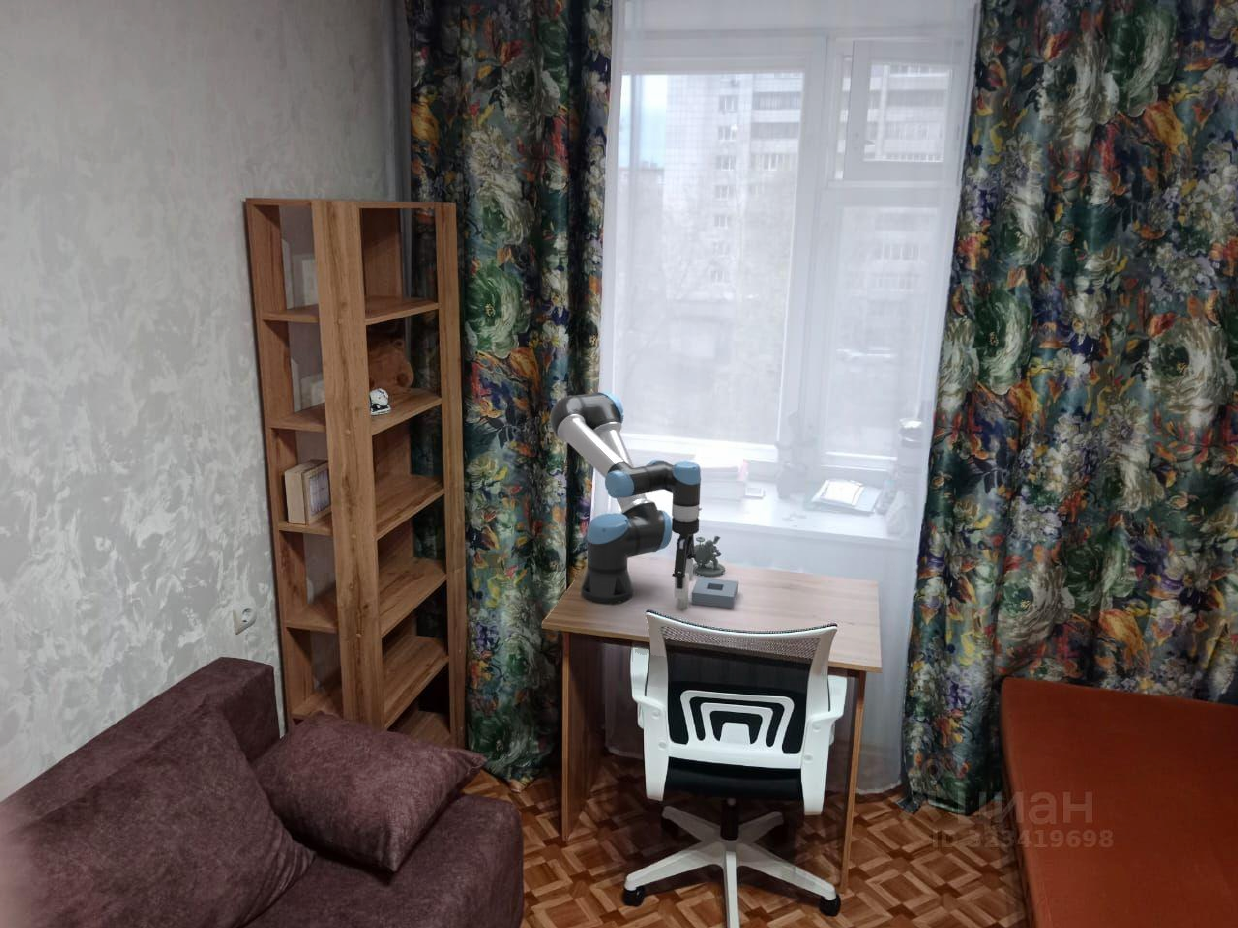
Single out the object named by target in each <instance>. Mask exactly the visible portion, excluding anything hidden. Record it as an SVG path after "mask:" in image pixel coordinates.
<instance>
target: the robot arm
mask: <svg viewBox="0 0 1238 928" xmlns="http://www.w3.org/2000/svg"><path fill="white" fill-rule="evenodd" d="M593 393H594V394H593ZM593 393H585V394H578V395H577V394H576V395H569V396H568V395H567V396H565V397H562V398H561V399H559V400H558V401H557V402H555V404H554V405H553V407H552V408H551V411H550V415H549V421H550V422H549V424H550V426H551V429H552V432H553V433H554V435H555V436H556V437H557V438H558V439H559V440H560V441H562V442H563V443H567V444H569V445H570V446H571V447H572V448H573V449H574V450H575V451H577V453H578V454H579V455H580V456H581V457H583V459H584V460H585V461H587V463H588V464H590V466H591V467H593V468H594V469H595V470H596V471H597V472H598V473H599V474H600V475H601V477H603V478H604V486H605V489H606V490H607V493H608V495H609V496H610V497H611V498H614V499H616V501H617V503H618V505H619V508H620V510H621V511H620V513H616V512H615V513H614V512H613V513H605V514H601V515H598V516H595V517H594V518H593V519H591V520H590V521H589V524H588V527H587V534H586V538H587V570H586V572H585V575H584V578H583V581H582V584H581V587H580V588H581V591H580V592H581V594H580V595H581V597H582V598H583V599H584V600H586V601H588V602H590V603H594V604H598V605H599V604H600V605H616V604H621V603H622V604H623V603H625V602H627V601H629V600H630V599H631V598H632V597H633V596H634V595H633V592H634V590H633V589H634V587H633V583H632V581H631V578H630V577H631V576H630V574H629V571H628V559H629V558H633V557H637V556H641V555H646V554H649V553H650V554H651V553H656V552H658V551H661V550H664V549H666V548H667V547H669V545H670V543H671V541H672V538H673V532H674V534H678V537H677V540H676V553H675V562H674V563H675V564H674V571H673V572H674V573H672V574H671V575H672V576H671V577H674V581H675V582H674V599H677V600H678V599H685V573H688V574H689V582H691V581H692V582H693V579H694V574H693V564H694V558H696V554H694V553H695V551H694V546H695V539H694V535H695V534H697V533H699V531H700V518H699V517H700V512H701V511H702V510H703V508H702V506H701V482H702V477H701V476H702V474H701V473H702V472H701V471H702V470H701V466H700V464H699V463H696V462H694V461H693V462H692V461H686V460H684V461H678V462H676V463H674V464H672V463H669V462H668V461H665V460H660V459H652V460H651V461H650V462H648V463H646V465H642V466H637V467H634V464H633V462H632V460H631V457H630V455H629V452H628V450H627V447H626V445H625V443H624V441H623V439H622V435H621V434H620V432H621V430H622V428H623V427H622V426H623V425H622V423H623V421H624V414H623V413H624V409H623V405H622V403H621V402H620V400H619V398H618V397H616V396H615V395H614V393H611V392H607V391H606V392H601V391H596V392H593ZM658 491H666V492H668V493H671V494H672V505H671V506H672V511H671V512H672V513H671V516H672V519H671V516H670V515H669V514H668V512H666V511H665V510H664V509H663V510H662V509H658V508H657V505H656V503H655V502H654V501H653V500H650V499H648V497H647V495H646V494H647V493H653V492H658Z"/></svg>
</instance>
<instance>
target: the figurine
mask: <svg viewBox="0 0 1238 928" xmlns="http://www.w3.org/2000/svg"><path fill="white" fill-rule="evenodd" d="M720 539H721V537H720V536H718V535H715V536H713V541H712V539H708V540H707V541H706V538H705V537H703V536H698V537H696V538H695V540H696V542H699V544H696V545H694V551H695V553H694V554H696V558H693V561H694V562H695V563H693V573H695V574H697V575H696V576H698V575H700V576H699V577H701V576H704V577H705V578H716V577H717V576H718V577H721V576H723V575H724V574H725V573H726V568H725V566H724V565H722V564H720V563H719V560H718V559H717V558H718V557H720V556H721V555H722V553H721V552H720V551H719V549H717V546H715V545H716V544H717V543H718V541H719V540H720ZM701 543H702V544H701ZM703 543H704V544H703ZM724 572H725V573H724ZM723 573H724V574H723ZM695 574H694V575H695ZM722 574H723V575H722ZM720 575H721V576H720Z"/></svg>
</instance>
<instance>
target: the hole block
mask: <svg viewBox="0 0 1238 928" xmlns="http://www.w3.org/2000/svg"><path fill="white" fill-rule="evenodd" d="M738 587H739V580H733V579H731V580H730V579H724V578H723V579H722V578H716V577H701V576H697V578H696V581H695V583H694V586H693V589H692V591H691V594H690V595H691V599H690V604H691V605H701V606H702V605H703V606H709V607H717V608H718V607H719V608H725V609H726V608H728V609H733V608H734V605H735V602H736V598H737V596H738V591H739V590H738V589H739V588H738Z"/></svg>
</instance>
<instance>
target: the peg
mask: <svg viewBox="0 0 1238 928" xmlns="http://www.w3.org/2000/svg"><path fill="white" fill-rule="evenodd" d="M689 585H690V581H689V574H688V573H685V599H678V598H677V600H676V601H677V605H676V606H677V609H679V610H687V609H688V608H689V607H688V605H689V589H690V588H689V587H690V586H689Z"/></svg>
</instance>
